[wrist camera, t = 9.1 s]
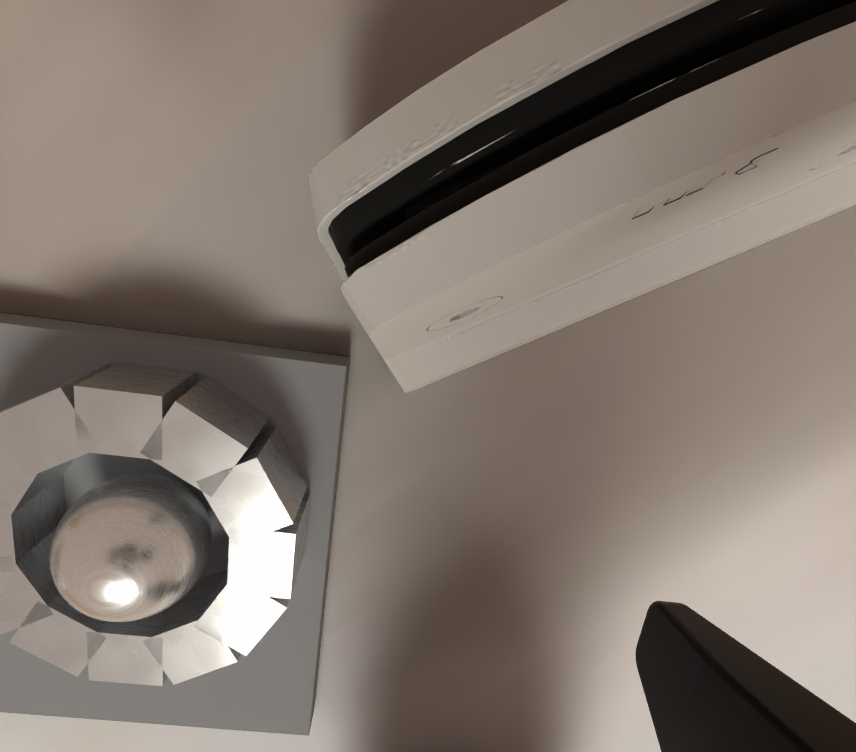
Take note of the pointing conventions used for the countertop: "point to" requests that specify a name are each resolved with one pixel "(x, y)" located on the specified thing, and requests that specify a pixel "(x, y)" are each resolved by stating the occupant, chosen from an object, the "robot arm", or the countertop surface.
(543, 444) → the countertop surface
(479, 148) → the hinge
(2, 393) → the mat
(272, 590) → the crimped metal cup
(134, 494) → the steel ball
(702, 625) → the robot arm
